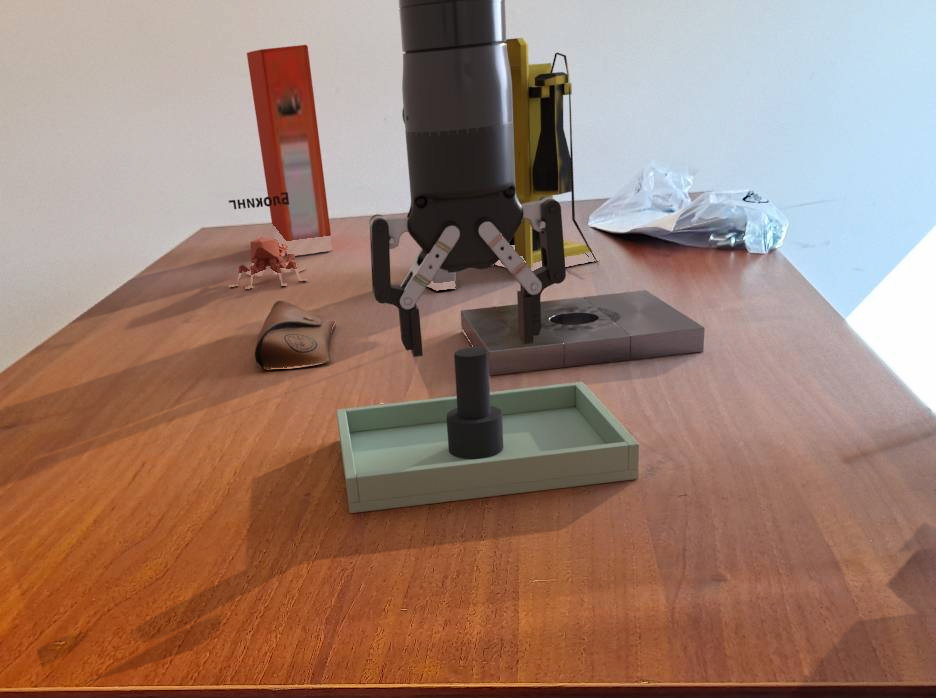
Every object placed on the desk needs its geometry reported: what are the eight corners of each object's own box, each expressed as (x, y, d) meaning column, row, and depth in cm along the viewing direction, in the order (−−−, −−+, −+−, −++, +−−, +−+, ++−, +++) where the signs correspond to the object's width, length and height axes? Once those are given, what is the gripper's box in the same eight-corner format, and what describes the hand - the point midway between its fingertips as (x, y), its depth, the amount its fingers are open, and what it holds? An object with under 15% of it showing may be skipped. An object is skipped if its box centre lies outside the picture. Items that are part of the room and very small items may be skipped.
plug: (497, 436, 80) (493, 341, 77) (508, 455, 76) (504, 356, 73) (445, 442, 80) (438, 347, 77) (453, 462, 76) (446, 363, 73)
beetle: (306, 285, 144) (295, 196, 139) (224, 292, 145) (210, 204, 139) (316, 265, 158) (306, 183, 152) (241, 272, 158) (228, 190, 153)
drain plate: (645, 311, 115) (646, 289, 114) (703, 351, 99) (705, 327, 98) (461, 331, 114) (460, 310, 113) (490, 376, 98) (488, 351, 97)
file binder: (286, 258, 166) (258, 49, 152) (273, 243, 181) (246, 51, 167) (332, 251, 168) (309, 44, 153) (315, 237, 183) (292, 47, 168)
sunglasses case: (334, 360, 105) (295, 310, 103) (283, 397, 107) (244, 349, 104) (337, 320, 121) (304, 276, 119) (293, 353, 123) (259, 310, 121)
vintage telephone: (643, 270, 134) (650, 25, 121) (559, 287, 129) (557, 34, 116) (520, 243, 160) (514, 38, 147) (446, 256, 155) (433, 46, 142)
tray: (581, 411, 86) (582, 381, 85) (638, 479, 72) (639, 443, 71) (339, 439, 85) (336, 409, 84) (349, 513, 71) (345, 478, 70)
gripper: (360, 135, 64) (384, 373, 71) (573, 112, 65) (575, 350, 72) (353, 127, 71) (376, 345, 78) (546, 107, 71) (551, 325, 79)
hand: (471, 347), depth 75 cm, fingers open, 8 cm apart
